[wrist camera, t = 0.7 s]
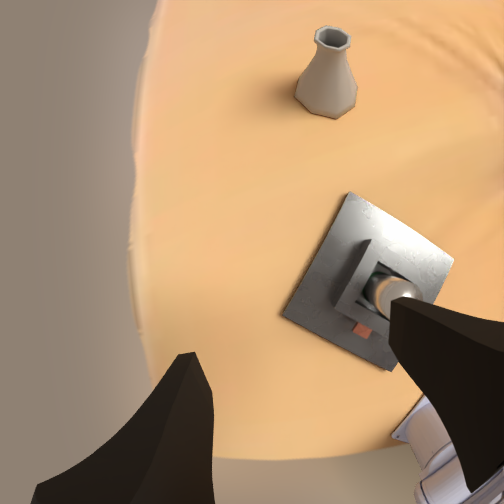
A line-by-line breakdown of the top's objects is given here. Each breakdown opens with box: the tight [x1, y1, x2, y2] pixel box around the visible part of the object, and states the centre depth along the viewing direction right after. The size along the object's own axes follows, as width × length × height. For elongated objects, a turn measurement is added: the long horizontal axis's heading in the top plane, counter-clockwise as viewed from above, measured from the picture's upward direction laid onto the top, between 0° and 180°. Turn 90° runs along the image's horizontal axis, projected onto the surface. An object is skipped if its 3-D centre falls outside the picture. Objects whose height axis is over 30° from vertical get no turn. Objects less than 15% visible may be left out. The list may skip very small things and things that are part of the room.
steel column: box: [362, 271, 423, 320], centre depth 21 cm, size 3×3×8 cm
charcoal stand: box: [283, 192, 454, 372], centre depth 24 cm, size 14×14×4 cm
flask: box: [294, 25, 358, 119], centre depth 22 cm, size 7×7×10 cm
